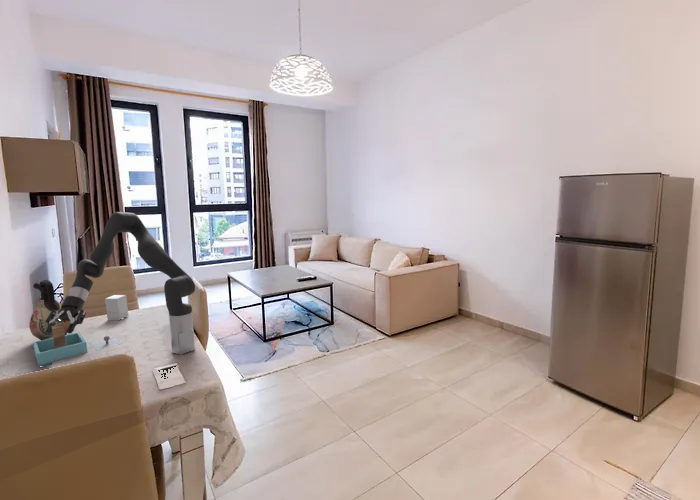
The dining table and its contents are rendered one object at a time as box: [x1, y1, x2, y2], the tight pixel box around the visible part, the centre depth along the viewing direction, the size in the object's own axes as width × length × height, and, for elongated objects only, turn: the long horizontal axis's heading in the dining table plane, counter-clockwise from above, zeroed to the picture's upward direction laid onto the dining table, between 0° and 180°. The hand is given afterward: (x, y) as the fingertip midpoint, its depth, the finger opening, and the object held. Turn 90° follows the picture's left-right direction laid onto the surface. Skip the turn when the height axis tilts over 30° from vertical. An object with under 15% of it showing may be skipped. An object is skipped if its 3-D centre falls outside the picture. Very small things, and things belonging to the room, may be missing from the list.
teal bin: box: [32, 331, 88, 368], centre depth 151 cm, size 16×16×6 cm
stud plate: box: [91, 335, 124, 351], centre depth 160 cm, size 10×10×5 cm
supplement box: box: [104, 294, 129, 321], centre depth 196 cm, size 7×7×13 cm
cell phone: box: [154, 362, 179, 379], centre depth 134 cm, size 9×18×1 cm, turn 36°
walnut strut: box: [51, 324, 68, 349], centre depth 151 cm, size 4×4×12 cm
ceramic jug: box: [28, 279, 71, 341], centre depth 165 cm, size 17×15×30 cm
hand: (58, 332), depth 150 cm, fingers open, 8 cm apart
